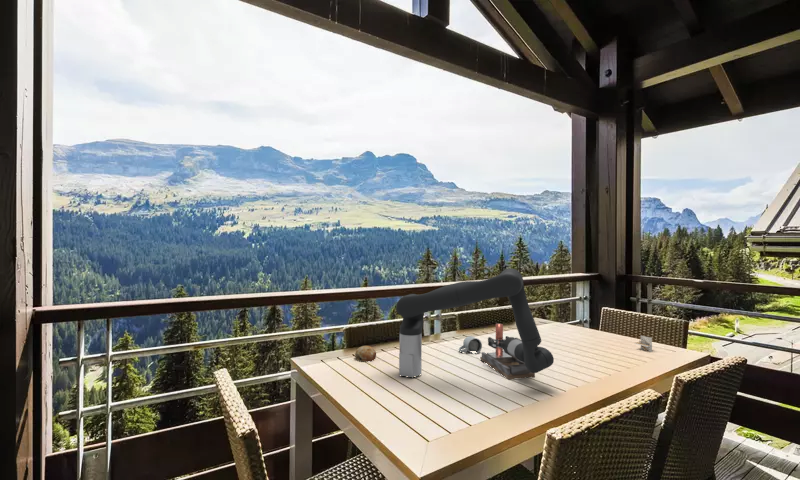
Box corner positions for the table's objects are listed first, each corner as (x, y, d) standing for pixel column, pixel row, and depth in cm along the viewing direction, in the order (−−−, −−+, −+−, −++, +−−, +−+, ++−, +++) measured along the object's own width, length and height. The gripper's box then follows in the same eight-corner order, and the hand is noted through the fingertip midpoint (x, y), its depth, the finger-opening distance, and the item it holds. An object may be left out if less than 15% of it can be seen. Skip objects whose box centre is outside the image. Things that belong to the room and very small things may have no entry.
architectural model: (648, 353, 195) (648, 338, 195) (634, 350, 202) (634, 335, 202) (652, 352, 197) (652, 337, 197) (638, 349, 203) (638, 334, 203)
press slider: (512, 362, 174) (512, 325, 174) (494, 363, 172) (494, 326, 172) (503, 357, 182) (503, 322, 182) (486, 358, 180) (486, 322, 180)
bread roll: (353, 366, 184) (349, 353, 181) (364, 352, 192) (360, 339, 189) (371, 369, 180) (367, 356, 177) (381, 355, 188) (377, 341, 185)
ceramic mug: (475, 349, 201) (475, 334, 201) (482, 353, 193) (482, 338, 193) (456, 350, 199) (456, 335, 199) (462, 355, 191) (462, 339, 191)
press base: (534, 377, 160) (534, 364, 160) (508, 379, 157) (508, 366, 157) (503, 358, 185) (503, 347, 185) (480, 360, 182) (480, 349, 182)
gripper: (531, 338, 164) (511, 329, 180) (500, 340, 161) (483, 331, 177) (531, 356, 164) (511, 346, 180) (500, 358, 161) (483, 348, 177)
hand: (497, 338), depth 178 cm, fingers open, 8 cm apart
